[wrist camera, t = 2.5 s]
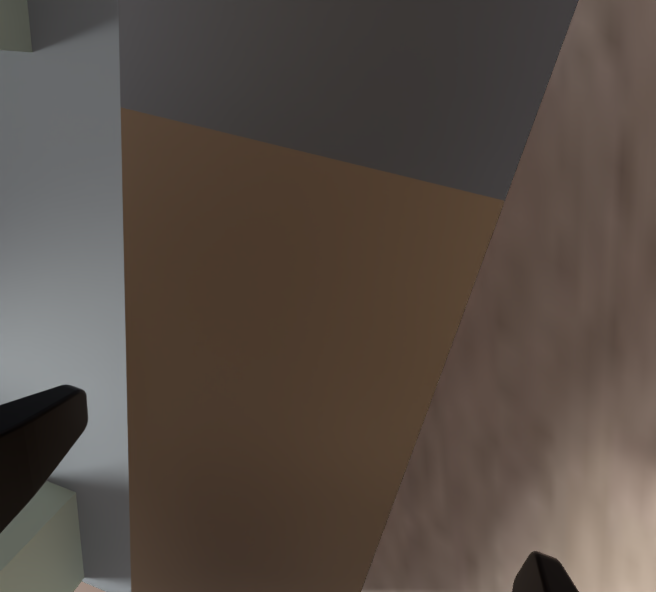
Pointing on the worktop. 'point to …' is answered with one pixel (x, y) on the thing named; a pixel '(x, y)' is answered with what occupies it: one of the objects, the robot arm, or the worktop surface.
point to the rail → (302, 262)
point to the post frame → (65, 283)
